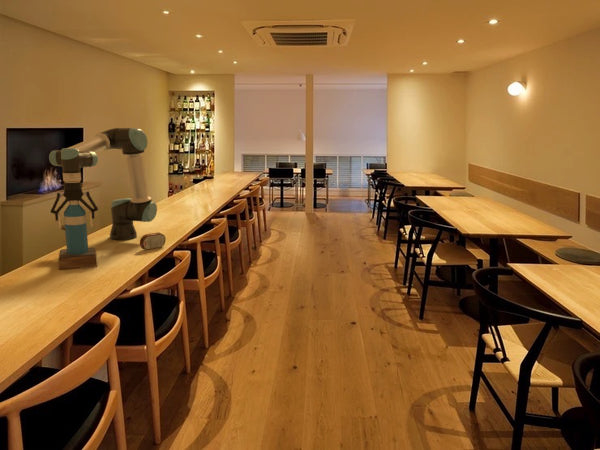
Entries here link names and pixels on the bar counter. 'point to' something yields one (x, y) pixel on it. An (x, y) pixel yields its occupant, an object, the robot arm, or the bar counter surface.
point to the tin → (152, 241)
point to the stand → (77, 259)
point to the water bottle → (75, 228)
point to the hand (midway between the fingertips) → (76, 226)
